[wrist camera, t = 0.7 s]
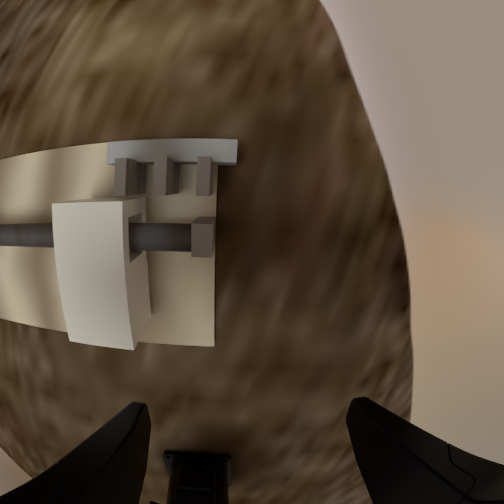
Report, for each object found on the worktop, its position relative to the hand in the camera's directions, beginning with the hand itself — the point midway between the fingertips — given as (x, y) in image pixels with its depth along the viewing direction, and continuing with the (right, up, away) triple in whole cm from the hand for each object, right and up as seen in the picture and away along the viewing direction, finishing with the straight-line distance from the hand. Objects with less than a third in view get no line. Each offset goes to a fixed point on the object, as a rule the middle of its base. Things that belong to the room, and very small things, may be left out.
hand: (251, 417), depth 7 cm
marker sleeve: (-8, +4, +9) cm, 13 cm away
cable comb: (-14, +5, +9) cm, 17 cm away
